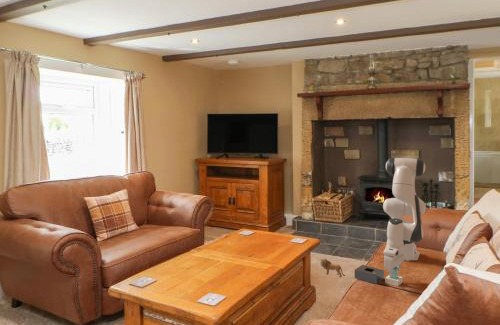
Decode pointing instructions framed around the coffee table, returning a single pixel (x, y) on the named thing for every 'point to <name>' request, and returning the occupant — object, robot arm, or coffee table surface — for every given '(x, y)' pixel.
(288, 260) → the coffee table surface
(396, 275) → the plug
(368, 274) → the block
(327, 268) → the lion figurine
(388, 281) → the white square block
